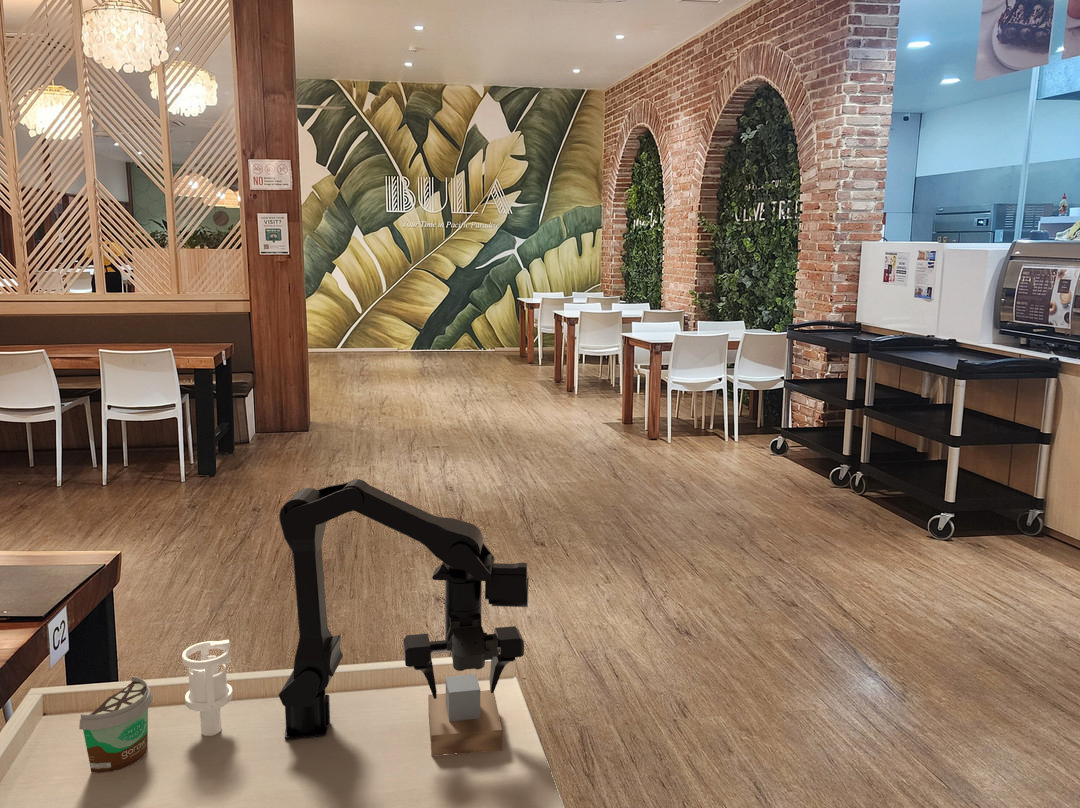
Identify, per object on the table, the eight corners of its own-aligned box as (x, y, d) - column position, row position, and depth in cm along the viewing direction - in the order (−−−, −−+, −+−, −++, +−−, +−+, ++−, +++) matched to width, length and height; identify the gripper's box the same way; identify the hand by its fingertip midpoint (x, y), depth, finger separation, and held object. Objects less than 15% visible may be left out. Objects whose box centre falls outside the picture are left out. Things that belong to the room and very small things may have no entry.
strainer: (237, 736, 136) (231, 649, 133) (189, 747, 133) (183, 658, 130) (231, 714, 142) (226, 631, 139) (186, 724, 139) (180, 639, 136)
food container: (121, 784, 124) (115, 721, 122) (84, 778, 125) (77, 716, 123) (173, 736, 136) (168, 679, 134) (138, 731, 137) (134, 674, 135)
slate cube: (449, 721, 135) (448, 692, 134) (445, 704, 140) (445, 676, 139) (480, 718, 136) (480, 689, 135) (476, 701, 141) (476, 673, 140)
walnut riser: (431, 758, 132) (431, 735, 131) (428, 716, 144) (428, 694, 143) (501, 752, 134) (502, 729, 133) (493, 711, 145) (493, 689, 145)
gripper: (407, 632, 125) (408, 728, 128) (531, 621, 129) (530, 715, 132) (402, 600, 135) (403, 690, 138) (517, 592, 139) (516, 679, 142)
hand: (463, 694), depth 137 cm, fingers open, 9 cm apart
